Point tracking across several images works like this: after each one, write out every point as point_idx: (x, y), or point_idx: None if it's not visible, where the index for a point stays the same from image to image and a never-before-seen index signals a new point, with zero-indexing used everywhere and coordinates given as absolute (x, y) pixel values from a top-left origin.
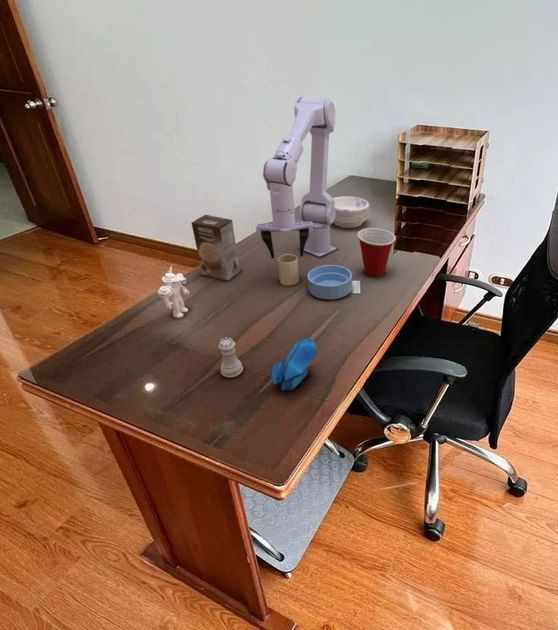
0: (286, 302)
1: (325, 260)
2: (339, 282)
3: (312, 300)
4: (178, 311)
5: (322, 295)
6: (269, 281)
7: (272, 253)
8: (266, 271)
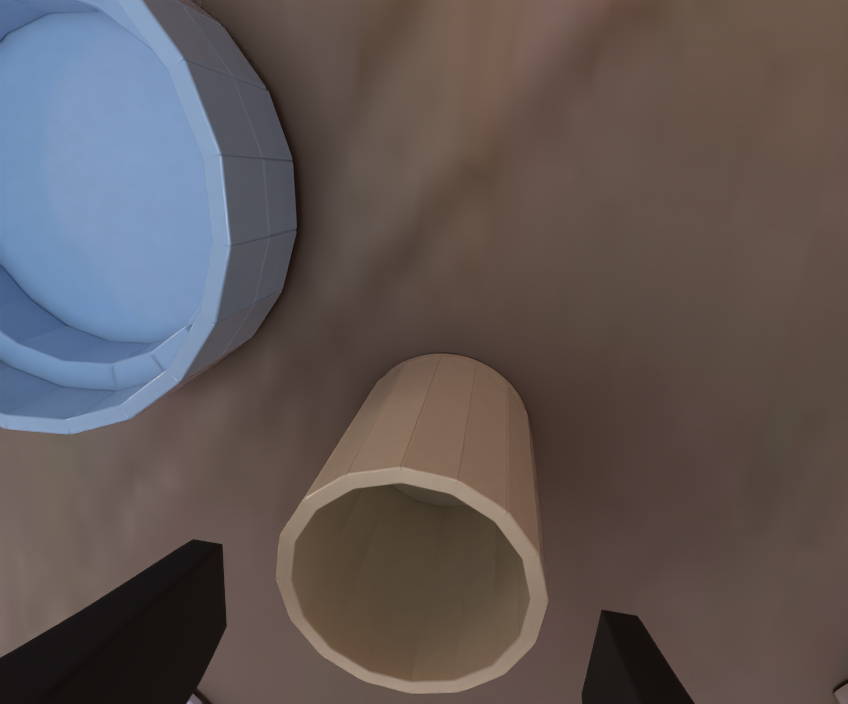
0: (534, 36)
1: None
2: (31, 270)
3: (280, 20)
4: None
5: None
6: (618, 472)
7: (649, 681)
8: None
